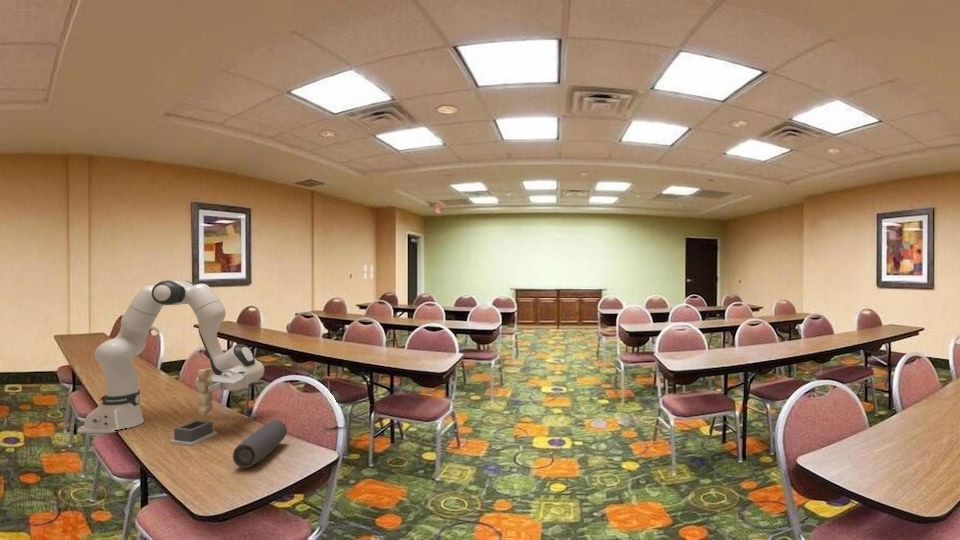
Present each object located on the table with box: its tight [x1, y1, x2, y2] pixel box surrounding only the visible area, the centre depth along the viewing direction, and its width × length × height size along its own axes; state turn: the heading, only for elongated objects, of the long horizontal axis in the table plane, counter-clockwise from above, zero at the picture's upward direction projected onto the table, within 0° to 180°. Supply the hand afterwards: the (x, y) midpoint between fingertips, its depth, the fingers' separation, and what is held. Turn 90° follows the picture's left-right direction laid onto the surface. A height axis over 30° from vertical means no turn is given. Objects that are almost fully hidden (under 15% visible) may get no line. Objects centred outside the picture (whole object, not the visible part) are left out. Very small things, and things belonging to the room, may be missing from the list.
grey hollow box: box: [169, 419, 218, 447], centre depth 180 cm, size 12×10×6 cm
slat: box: [197, 368, 214, 417], centre depth 177 cm, size 4×2×18 cm, turn 165°
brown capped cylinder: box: [327, 380, 341, 406], centre depth 191 cm, size 7×7×20 cm
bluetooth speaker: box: [232, 419, 288, 469], centre depth 163 cm, size 23×9×10 cm, turn 178°
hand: (203, 388), depth 176 cm, fingers closed on slat, 2 cm apart
